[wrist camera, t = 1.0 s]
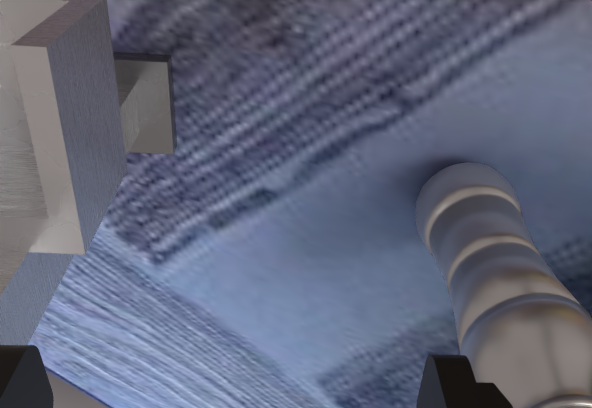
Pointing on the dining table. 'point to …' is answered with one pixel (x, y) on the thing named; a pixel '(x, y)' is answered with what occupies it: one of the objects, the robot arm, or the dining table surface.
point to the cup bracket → (66, 142)
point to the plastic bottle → (505, 291)
